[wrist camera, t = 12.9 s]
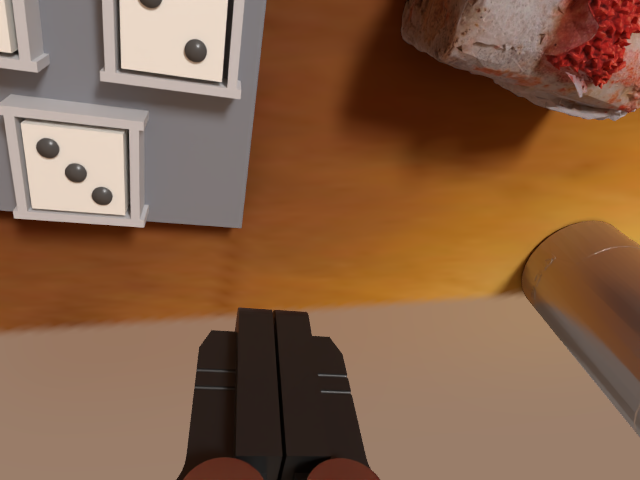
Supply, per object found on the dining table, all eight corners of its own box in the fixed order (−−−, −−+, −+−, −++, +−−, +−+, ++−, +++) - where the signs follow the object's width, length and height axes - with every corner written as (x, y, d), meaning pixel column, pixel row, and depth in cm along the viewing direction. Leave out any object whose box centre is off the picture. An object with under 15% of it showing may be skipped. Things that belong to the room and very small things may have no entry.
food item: (628, -28, 30) (777, -13, 22) (566, 99, 34) (673, 152, 26) (428, -93, 27) (516, -104, 19) (384, 56, 31) (441, 102, 23)
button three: (129, 122, 28) (122, 135, 26) (130, 200, 31) (124, 216, 29) (33, 111, 27) (19, 124, 25) (43, 192, 30) (31, 209, 28)
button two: (229, -27, 25) (229, -24, 23) (222, 73, 28) (221, 82, 26) (125, -46, 24) (117, -45, 22) (128, 59, 27) (120, 68, 25)
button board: (270, -65, 26) (276, -64, 23) (240, 214, 35) (241, 243, 31) (-150, -151, 22) (-217, -166, 19) (-68, 189, 31) (-104, 221, 27)
